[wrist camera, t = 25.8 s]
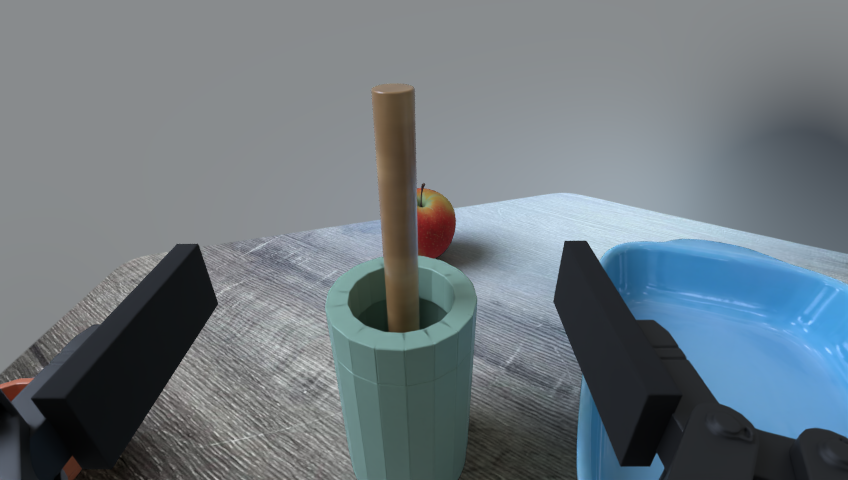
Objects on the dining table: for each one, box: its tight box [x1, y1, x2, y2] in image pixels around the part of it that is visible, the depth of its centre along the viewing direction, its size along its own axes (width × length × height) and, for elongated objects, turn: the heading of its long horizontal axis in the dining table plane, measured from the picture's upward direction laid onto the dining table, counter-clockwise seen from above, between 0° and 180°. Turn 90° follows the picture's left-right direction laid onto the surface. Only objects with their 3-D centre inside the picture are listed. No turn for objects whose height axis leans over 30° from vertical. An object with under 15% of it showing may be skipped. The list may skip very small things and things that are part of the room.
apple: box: [417, 184, 456, 259], centre depth 50 cm, size 8×8×10 cm
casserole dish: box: [576, 239, 848, 480], centre depth 28 cm, size 37×22×7 cm, turn 159°
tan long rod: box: [372, 84, 420, 333], centre depth 24 cm, size 4×4×24 cm
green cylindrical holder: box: [325, 256, 477, 480], centre depth 27 cm, size 8×8×14 cm
